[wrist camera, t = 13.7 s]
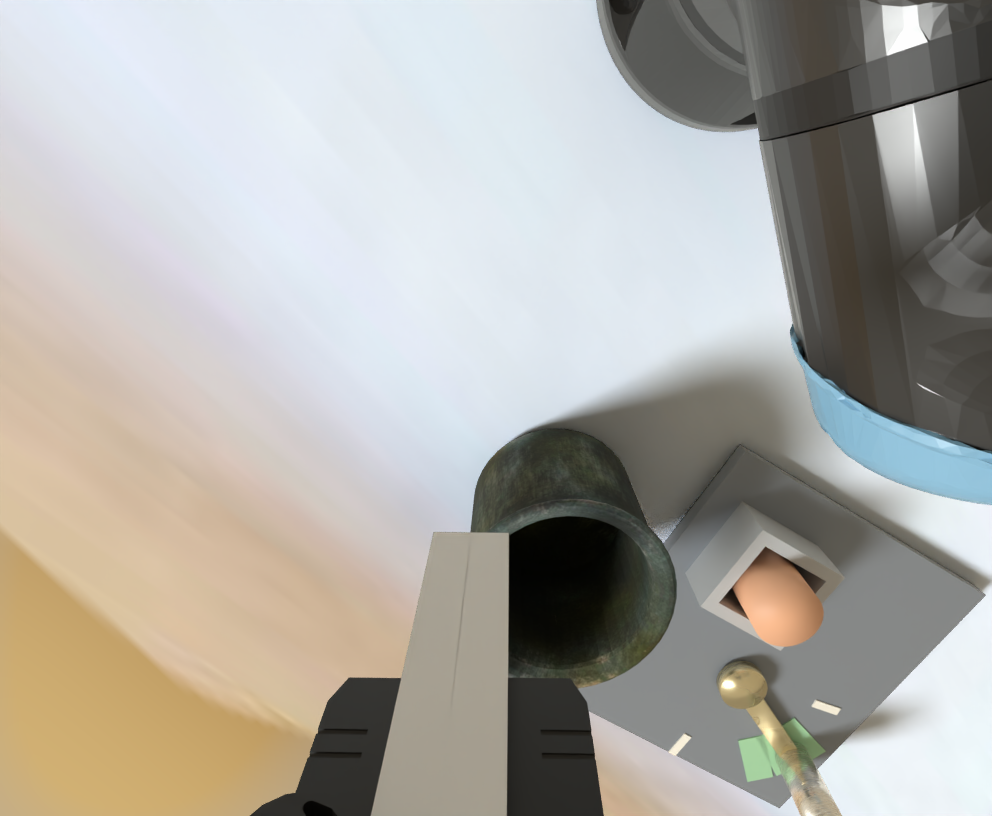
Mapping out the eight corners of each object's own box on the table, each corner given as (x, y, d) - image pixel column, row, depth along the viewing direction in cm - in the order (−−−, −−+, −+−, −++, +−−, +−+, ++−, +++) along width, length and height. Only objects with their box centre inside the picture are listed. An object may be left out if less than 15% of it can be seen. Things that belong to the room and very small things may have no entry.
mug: (667, 511, 46) (719, 621, 34) (491, 619, 49) (486, 754, 37) (575, 385, 43) (599, 459, 32) (395, 508, 46) (358, 615, 34)
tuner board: (739, 444, 44) (768, 476, 39) (974, 585, 47) (1026, 630, 42) (556, 683, 50) (561, 735, 45) (773, 794, 53) (799, 855, 48)
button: (752, 532, 43) (782, 575, 38) (802, 561, 44) (838, 607, 39) (714, 579, 44) (738, 627, 40) (763, 607, 45) (793, 657, 40)
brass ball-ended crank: (708, 674, 48) (735, 741, 42) (749, 653, 47) (781, 718, 42) (778, 775, 51) (813, 850, 45) (818, 756, 50) (858, 830, 44)
